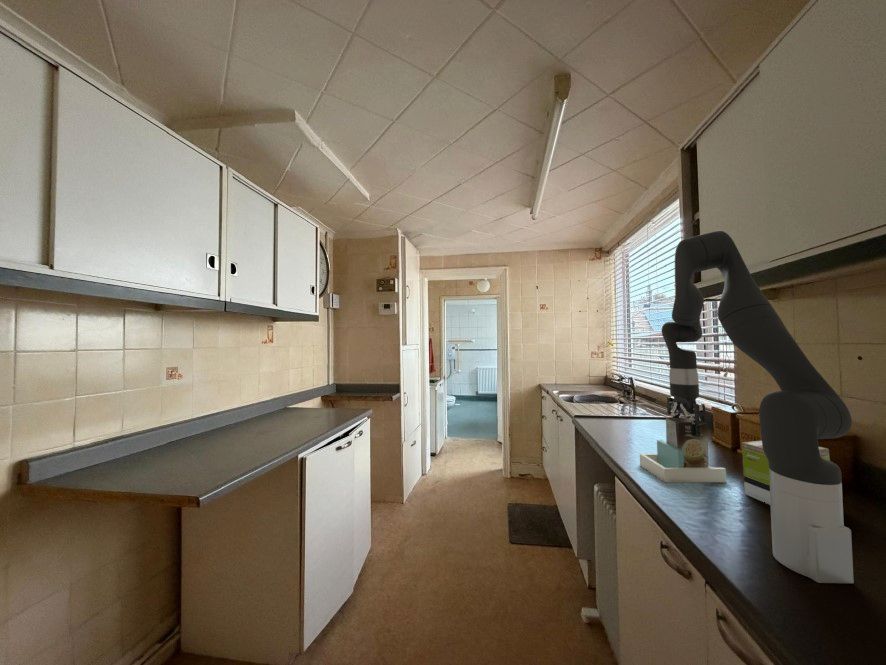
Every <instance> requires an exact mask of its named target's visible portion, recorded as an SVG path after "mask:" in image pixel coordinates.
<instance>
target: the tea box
mask: <svg viewBox="0 0 886 665" xmlns="http://www.w3.org/2000/svg"><path fill="white" fill-rule="evenodd" d="M819 453H820V456H821V458H823V459H826V460H829V461H831V458H830V449H829V448H827V447H823V446H819ZM741 454H742V467H743V482H744V483H743V485H744V486H743V487H744V493H745V495H746V496H747V497H751V498H753V499H756V500H757V501H760V502H762V503H764V502H765V503H764V504H767V505H769V506H771V502H770V477H769V461H768V459H767V457H766V455H765V453H764V450H763V447H762V439H760V440H755V441H744V442H743V441H742V442H741Z"/></svg>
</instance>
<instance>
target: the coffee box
mask: <svg viewBox="0 0 886 665" xmlns="http://www.w3.org/2000/svg"><path fill="white" fill-rule="evenodd" d="M693 419H694V420H695V418H693ZM700 427H701V436H700V437H694V436H692V433H691V422H690V420H689V418H687V417H686V418H685V417H679V418H672V417H665V435H666V436H665V437H666V438H665V439H666V441H665V442H666V443H668V444H670V445H672V446H674V447H676V448H678V449H680V450H682V451H683V460H684V468H709V466H710V465H709V462H710V461H709V433H708V432H709V430H708V422H706V424H701V426H700Z"/></svg>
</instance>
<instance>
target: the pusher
mask: <svg viewBox="0 0 886 665" xmlns="http://www.w3.org/2000/svg"><path fill="white" fill-rule="evenodd" d="M656 449H657V450H656V452H657V453H656V454H657V458H658V463H659V464H660V465H662V466H663V467H665V468H684V460H683V451H682V450H680V449H678V448H676V447H674V446H672V445H670V444H668V443H666V441H664V440H662V439H656Z"/></svg>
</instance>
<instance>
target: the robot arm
mask: <svg viewBox="0 0 886 665" xmlns="http://www.w3.org/2000/svg"><path fill="white" fill-rule="evenodd" d="M712 269H717V270H718V271H719V272H720V273H721V275H722V277H723V282H724V286H723V289H722V290H723V291H722V294H721V297H720V300H719V302H718V303H719V304H718V308H717V309H718V310H717V318H718V321H719V322H720V325H721V326H722V328H723V330H724V331H725V333H726V335H727V337H728V339H729V340H730V341H731V343H732V344H734V346H735V347H736V348H738V349H739V350H740V351H741V352H742V353H743V354H745V355H747V357H749V358H750V359H752V360H753V361H754V362H756V364H758V365H759V366H761V367H762V368H764V370H765V371H766V372H767V373H768V374H769V375H770V376H771V377H772V378H773V380H774V381H775V382H776V384H777V385H778V387H779V389H780V390H779V391H777V390H776V391H772V392H770V393H767V394H766V395H765V396H764V397H763V398H762V399H761V401H760V404H759V409H758V411H759V412H758V417H759V418H758V419H759V428H760V437H761V440H762V447H763V450H764V453H765V455H766V457H767V459H768V461H769V477H770V502H771V505H770V519H771V520H770V523H771V542H772V556H773V557H774V558H775V560H776V561H777V562H779V563H780V564H781V565H783V566H784V567H786V568H788V569H789V570H791V571H793V572H795V573H797V574H799V575H802V576H805V577H806V578H807V577H808V578H809V579H811V580H813V581H815V582H816V583H818V584H854V583H855V582H854V566H853V565H854V563H853V546H852V545H853V544H852V543H853V542H852V541H853V540H852V529H850V528H849V527H847V526H845V524H844V506H843V505H844V504H843V501H844V500H843V483H842V479H843V478H842V471H841V468H840V466H839V465H838V464H837V463H834V462H833V461H831V460H830V461H829V460H826V459H823V458H821V456H820V453H819V447H820V446H819V441H818V440H829V439H838V438H841V437H844V436H846V434H848V433H849V431H851V427H852V425H853V424H852V423H853V422H852V421H853V420H852V415H851V412H850V411H849V408H848V406H847V405H846V403H845V401H843V399H842V398H841V397H840V395H839V394H838V393H837V391H835V390H834V388H833V387H832V386H831V385H830V384H829V382H827V380H826V379H825V378H824V377H823V376H822V375H821V373H820V372H819V371H818V370H817V369H816V368H815V367H814V365H813V363H811V361H810V360H809V359H808V358H807V356H806V355H805V353H804V352H803V350H802V348H801V347H800V346H799V344H798V342H797V341H796V340H795V338H794V337H793V336H792V334H791V333H790V331H789V330H788V329H787V327H786V325H785V324H784V322H783V320H782V319H781V317H780V316H779V314H778V312H776V309H775V308H774V307H773V305H772V304H771V303H770V301H769V300H768V298H767V297H766V296H765V295H764V292H763V291H762V289H760V287H759V286H758V284H757V282H756V281H755V279H754V278H753V275H751V273H750V271H749V268H748V267H747V265H746V263H745V261H744V259H743V256H742V254H741V253H740V251H739V249H738V247H737V245H736V243H735V241H734V240H733V238H732V237H731V235H729V233H727V232H726V231H723V230H716V231H715V230H713V231H710V232H707V233H702V234H699V235H695V236H691V237H688V238H684V239H682V240H680V241H679V242H678V243H677V245H676V247H675V252H674V288H675V289H674V290H675V291H674V293H675V294H674V301H673V306H672V311H671V319H672V320H671V321H667V322H665V323H664V324H663V325H662V327H661V335H662V339H663V340H664V342H665V345H666V348H667V351H668V358H669V376H668V377H669V393H670V395H669V396H668V397H667V398H666V408H667V409H666V410H667V412H666V413H667V415H670V418H682V415H685V417H686V418H689V420H690V422H691V433H692V436H694V437H700V436H701V427H700V426H701V424H706V423H707V416H706V415H707V414H706V405H705V403H697V399H698V398H700V384H699V383H700V382H699V372H698V367H697V366H698V365H697V364H698V363H697V353H696V352H695V351H694V350H691V349H685V348H680V347H679V346H678V345H677V343H695V342H697V341H699V340H700V339H701V338H702V336H703V329H702V325H701V315H702V311H703V308H704V303H705V299H704V295H703V294H702V291H701V290H700V289H699V288H698V287H697V285H695V283H694V282H693V280H692V278H693V275H694V273H700V272H703V271H707V270H712ZM693 418H694V419H695V420H694V419H693Z"/></svg>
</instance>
